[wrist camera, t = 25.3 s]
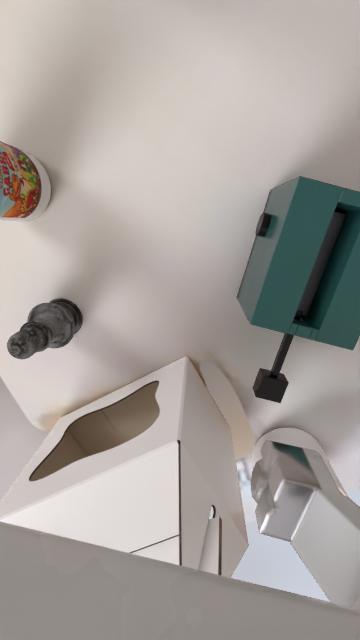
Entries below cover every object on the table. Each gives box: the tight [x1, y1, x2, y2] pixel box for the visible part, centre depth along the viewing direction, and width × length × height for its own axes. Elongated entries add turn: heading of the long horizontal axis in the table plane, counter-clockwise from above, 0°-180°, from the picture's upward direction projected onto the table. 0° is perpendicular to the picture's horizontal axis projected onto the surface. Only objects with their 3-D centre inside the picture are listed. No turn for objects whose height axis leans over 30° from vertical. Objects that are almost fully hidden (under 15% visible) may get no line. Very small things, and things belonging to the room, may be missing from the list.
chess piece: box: [7, 299, 82, 359], centre depth 36 cm, size 6×6×12 cm
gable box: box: [0, 356, 249, 578], centre depth 32 cm, size 22×13×28 cm, turn 119°
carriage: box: [253, 212, 346, 403], centre depth 32 cm, size 20×3×2 cm, turn 166°
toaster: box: [237, 176, 360, 350], centre depth 32 cm, size 13×11×11 cm
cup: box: [251, 428, 348, 497], centre depth 41 cm, size 10×10×10 cm
